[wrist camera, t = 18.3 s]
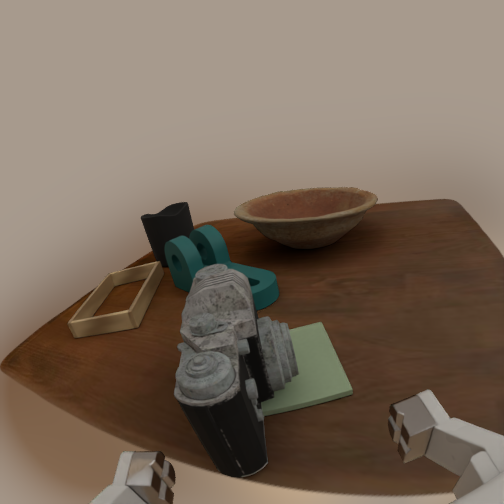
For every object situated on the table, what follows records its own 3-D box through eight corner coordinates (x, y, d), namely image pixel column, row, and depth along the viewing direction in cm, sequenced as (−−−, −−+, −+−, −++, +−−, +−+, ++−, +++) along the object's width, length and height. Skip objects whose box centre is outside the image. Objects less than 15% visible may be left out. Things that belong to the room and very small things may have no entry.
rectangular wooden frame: (74, 338, 39) (67, 323, 38) (113, 285, 56) (108, 273, 55) (138, 327, 39) (131, 311, 38) (164, 273, 56) (159, 260, 55)
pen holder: (196, 262, 57) (180, 209, 54) (150, 271, 59) (133, 221, 55) (205, 245, 66) (192, 199, 63) (164, 254, 67) (150, 210, 64)
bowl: (379, 267, 39) (373, 208, 37) (220, 274, 50) (207, 225, 47) (382, 214, 59) (377, 175, 56) (271, 224, 69) (263, 189, 67)
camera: (320, 464, 16) (300, 341, 13) (213, 481, 16) (144, 370, 13) (286, 335, 30) (265, 237, 26) (218, 350, 30) (186, 255, 27)
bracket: (175, 286, 49) (159, 239, 46) (209, 268, 53) (196, 224, 50) (250, 317, 36) (233, 253, 33) (290, 290, 39) (278, 230, 37)
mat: (222, 423, 22) (220, 418, 21) (224, 348, 31) (222, 344, 31) (352, 394, 21) (352, 389, 21) (322, 326, 31) (321, 321, 31)
